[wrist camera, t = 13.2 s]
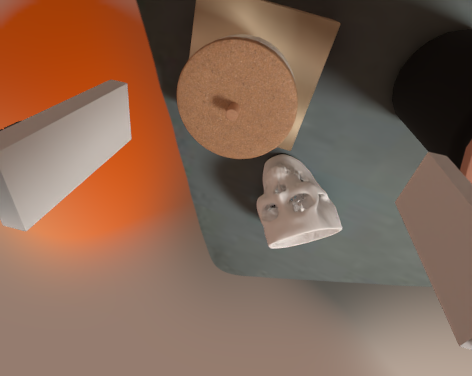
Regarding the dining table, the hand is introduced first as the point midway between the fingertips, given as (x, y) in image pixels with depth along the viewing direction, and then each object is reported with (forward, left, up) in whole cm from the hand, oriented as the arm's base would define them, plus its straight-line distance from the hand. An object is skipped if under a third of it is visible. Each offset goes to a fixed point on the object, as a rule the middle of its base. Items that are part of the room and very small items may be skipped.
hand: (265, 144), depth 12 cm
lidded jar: (+3, -3, -20) cm, 20 cm away
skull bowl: (+19, +7, -25) cm, 32 cm away
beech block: (+2, -3, -25) cm, 25 cm away
